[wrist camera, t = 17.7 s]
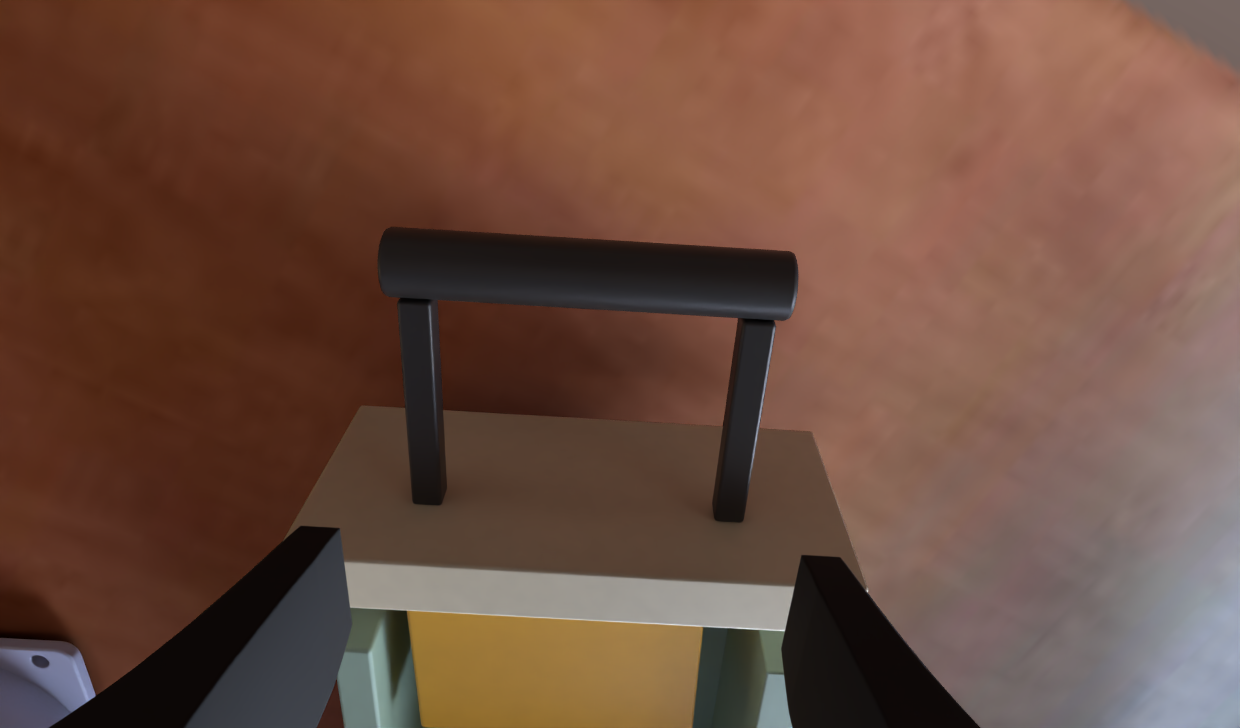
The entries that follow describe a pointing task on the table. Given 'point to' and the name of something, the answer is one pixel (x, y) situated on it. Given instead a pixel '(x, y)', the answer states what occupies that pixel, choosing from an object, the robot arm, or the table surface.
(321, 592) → the robot arm
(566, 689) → the block
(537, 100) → the table surface
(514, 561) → the drawer
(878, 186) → the table surface
